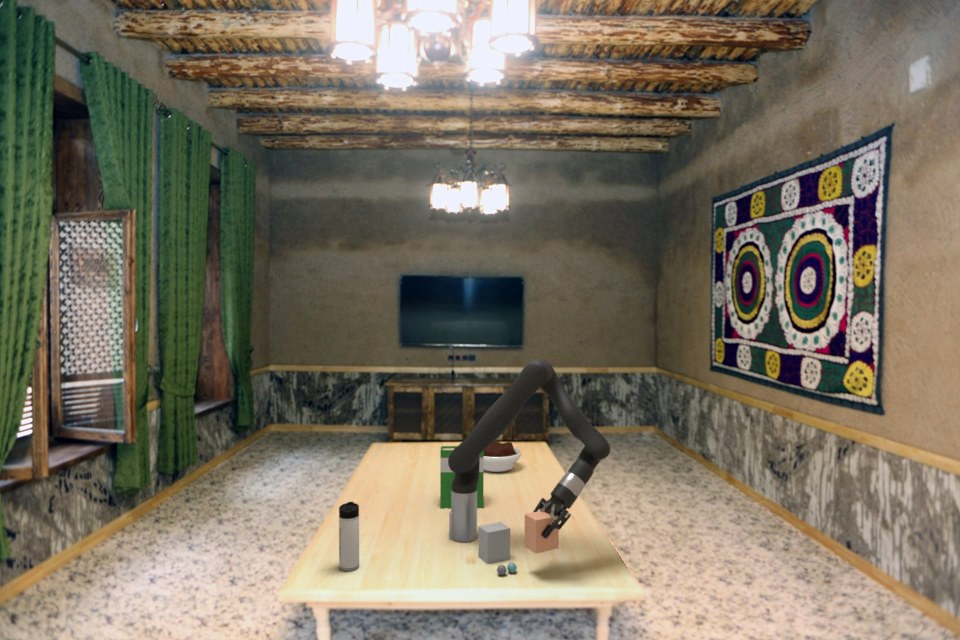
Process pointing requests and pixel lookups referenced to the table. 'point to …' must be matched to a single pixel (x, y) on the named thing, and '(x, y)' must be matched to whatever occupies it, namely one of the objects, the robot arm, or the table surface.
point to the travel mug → (349, 536)
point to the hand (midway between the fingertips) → (537, 532)
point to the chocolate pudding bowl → (500, 456)
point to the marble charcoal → (501, 569)
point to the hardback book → (449, 475)
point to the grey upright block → (494, 542)
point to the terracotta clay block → (539, 532)
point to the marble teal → (511, 567)
